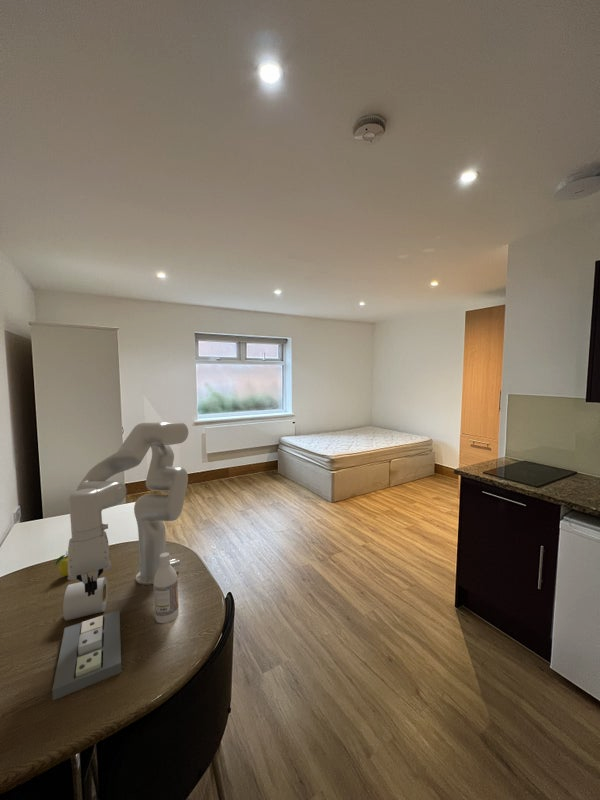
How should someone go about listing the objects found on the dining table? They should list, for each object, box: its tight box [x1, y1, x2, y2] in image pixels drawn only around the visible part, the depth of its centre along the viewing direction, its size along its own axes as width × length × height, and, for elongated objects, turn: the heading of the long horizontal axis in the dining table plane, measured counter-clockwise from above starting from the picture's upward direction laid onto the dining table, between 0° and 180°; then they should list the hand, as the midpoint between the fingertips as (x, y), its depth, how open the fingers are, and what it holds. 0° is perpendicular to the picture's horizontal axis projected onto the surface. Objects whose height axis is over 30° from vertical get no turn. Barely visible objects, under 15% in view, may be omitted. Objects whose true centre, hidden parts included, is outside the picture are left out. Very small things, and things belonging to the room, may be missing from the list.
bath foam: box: [153, 551, 180, 624], centre depth 101 cm, size 7×7×20 cm
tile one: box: [81, 614, 104, 634], centre depth 95 cm, size 5×5×3 cm
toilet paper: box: [62, 576, 109, 622], centre depth 104 cm, size 10×10×10 cm
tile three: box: [76, 649, 103, 678], centre depth 82 cm, size 5×5×3 cm
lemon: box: [55, 552, 68, 577], centre depth 125 cm, size 7×6×10 cm
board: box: [51, 609, 122, 701], centre depth 88 cm, size 14×23×2 cm, turn 30°
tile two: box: [78, 627, 103, 656], centre depth 88 cm, size 5×5×3 cm
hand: (91, 592), depth 95 cm, fingers closed
